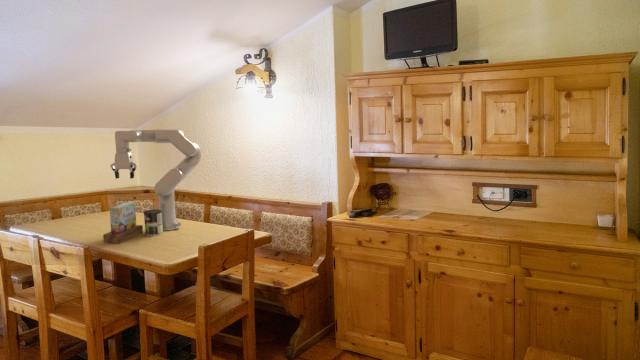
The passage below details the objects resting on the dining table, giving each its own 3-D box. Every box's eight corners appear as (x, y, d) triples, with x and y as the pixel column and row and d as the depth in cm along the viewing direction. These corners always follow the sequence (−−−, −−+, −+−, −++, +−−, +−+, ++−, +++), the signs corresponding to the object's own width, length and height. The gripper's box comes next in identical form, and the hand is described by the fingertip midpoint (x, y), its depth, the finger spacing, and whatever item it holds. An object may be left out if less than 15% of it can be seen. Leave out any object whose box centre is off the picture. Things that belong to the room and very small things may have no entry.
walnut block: (143, 233, 278) (142, 225, 277) (120, 243, 254) (119, 234, 254) (127, 233, 279) (127, 225, 279) (103, 243, 256) (103, 234, 255)
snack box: (120, 234, 256) (118, 207, 254) (110, 234, 256) (108, 207, 254) (137, 225, 277) (135, 201, 275) (128, 225, 277) (126, 201, 275)
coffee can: (149, 236, 268) (148, 213, 267) (142, 234, 276) (140, 211, 274) (166, 233, 276) (164, 210, 274) (158, 231, 283) (157, 208, 281)
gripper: (139, 150, 283) (141, 177, 285) (113, 150, 285) (115, 177, 287) (132, 151, 275) (134, 179, 278) (106, 151, 277) (108, 179, 280)
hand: (124, 178), depth 282 cm, fingers open, 9 cm apart
